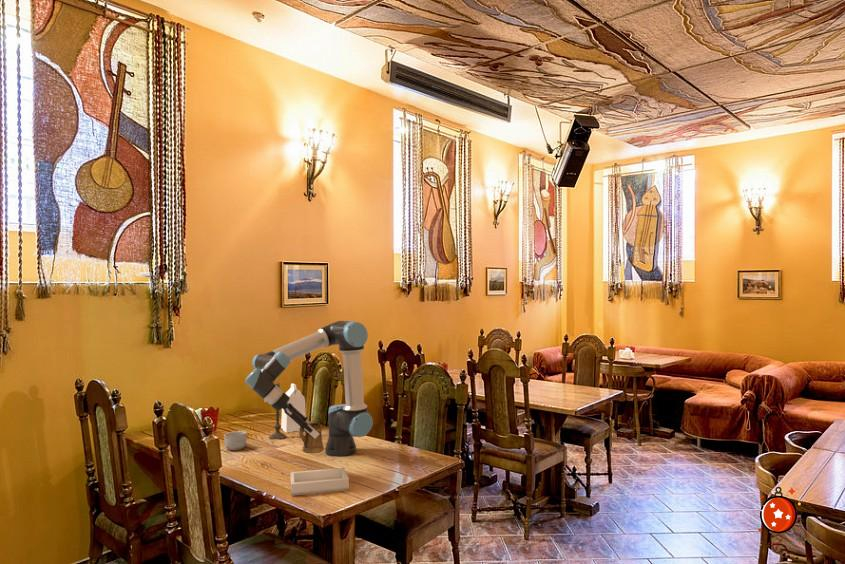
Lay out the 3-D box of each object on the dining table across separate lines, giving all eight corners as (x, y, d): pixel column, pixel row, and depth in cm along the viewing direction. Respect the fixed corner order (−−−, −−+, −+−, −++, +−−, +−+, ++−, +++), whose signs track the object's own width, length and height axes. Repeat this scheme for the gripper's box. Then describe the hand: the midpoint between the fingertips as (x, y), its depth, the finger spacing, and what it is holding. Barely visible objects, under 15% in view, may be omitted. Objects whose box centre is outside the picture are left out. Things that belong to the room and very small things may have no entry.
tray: (344, 478, 233) (344, 467, 233) (348, 490, 219) (348, 478, 219) (290, 483, 228) (290, 472, 228) (291, 496, 213) (291, 484, 213)
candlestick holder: (285, 434, 308) (284, 380, 309) (287, 438, 300) (287, 382, 300) (268, 436, 305) (267, 381, 306) (269, 440, 296) (269, 384, 297)
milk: (281, 428, 323) (281, 383, 324) (300, 426, 329) (300, 382, 330) (286, 432, 313) (286, 386, 314) (306, 430, 318) (306, 384, 319)
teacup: (239, 452, 274) (239, 436, 274) (219, 451, 276) (219, 435, 276) (253, 445, 287) (253, 429, 288) (234, 444, 290) (234, 428, 290)
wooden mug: (289, 452, 236) (289, 409, 237) (317, 446, 245) (317, 405, 245) (299, 457, 229) (298, 413, 230) (327, 450, 238) (327, 408, 238)
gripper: (270, 400, 244) (309, 435, 248) (270, 410, 225) (311, 446, 228) (283, 388, 246) (320, 422, 249) (283, 396, 226) (324, 432, 230)
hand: (316, 433), depth 239 cm, fingers closed on wooden mug, 7 cm apart
